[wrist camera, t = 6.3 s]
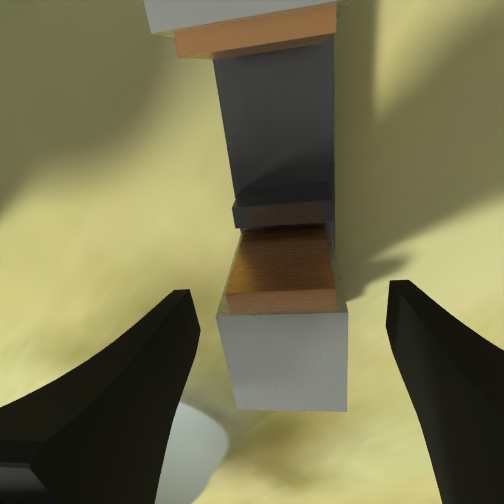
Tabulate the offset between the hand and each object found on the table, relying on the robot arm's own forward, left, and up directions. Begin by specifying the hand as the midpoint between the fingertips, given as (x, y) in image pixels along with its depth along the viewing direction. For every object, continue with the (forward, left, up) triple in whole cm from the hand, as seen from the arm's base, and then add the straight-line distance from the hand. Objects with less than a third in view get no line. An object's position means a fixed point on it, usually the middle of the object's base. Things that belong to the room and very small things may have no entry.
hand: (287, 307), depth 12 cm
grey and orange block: (0, 0, -3) cm, 3 cm away
